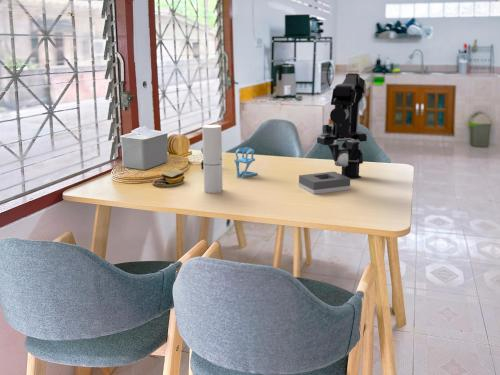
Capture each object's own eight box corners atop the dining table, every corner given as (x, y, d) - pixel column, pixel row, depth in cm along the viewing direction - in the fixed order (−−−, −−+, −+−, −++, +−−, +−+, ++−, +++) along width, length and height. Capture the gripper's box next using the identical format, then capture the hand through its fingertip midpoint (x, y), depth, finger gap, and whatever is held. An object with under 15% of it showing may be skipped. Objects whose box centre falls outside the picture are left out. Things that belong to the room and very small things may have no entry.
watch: (200, 169, 245) (200, 145, 242) (203, 165, 253) (202, 142, 250) (213, 170, 245) (212, 145, 242) (215, 165, 253) (214, 142, 250)
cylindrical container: (225, 188, 214) (224, 125, 208) (218, 193, 208) (216, 128, 201) (208, 187, 217) (206, 124, 210) (201, 191, 210) (199, 127, 203)
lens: (343, 162, 211) (343, 147, 209) (350, 165, 206) (351, 149, 205) (332, 164, 209) (332, 148, 207) (339, 166, 204) (339, 151, 203)
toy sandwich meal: (147, 183, 224) (146, 172, 222) (175, 178, 232) (174, 167, 231) (163, 189, 214) (162, 178, 213) (191, 184, 223) (191, 172, 221)
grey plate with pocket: (333, 182, 223) (334, 171, 222) (349, 189, 212) (350, 178, 211) (298, 186, 217) (299, 175, 216) (313, 194, 206) (313, 182, 205)
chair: (232, 176, 233) (231, 149, 230) (242, 172, 240) (242, 145, 237) (247, 178, 229) (247, 150, 226) (257, 174, 236) (257, 147, 233)
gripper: (352, 115, 214) (350, 154, 218) (310, 118, 207) (309, 158, 211) (368, 119, 204) (366, 160, 208) (325, 122, 197) (324, 165, 201)
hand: (341, 160), depth 207 cm, fingers closed on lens, 5 cm apart
